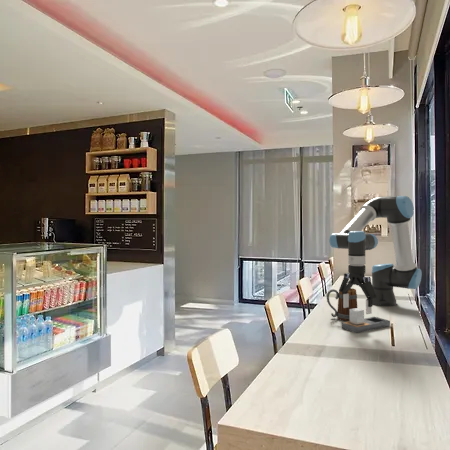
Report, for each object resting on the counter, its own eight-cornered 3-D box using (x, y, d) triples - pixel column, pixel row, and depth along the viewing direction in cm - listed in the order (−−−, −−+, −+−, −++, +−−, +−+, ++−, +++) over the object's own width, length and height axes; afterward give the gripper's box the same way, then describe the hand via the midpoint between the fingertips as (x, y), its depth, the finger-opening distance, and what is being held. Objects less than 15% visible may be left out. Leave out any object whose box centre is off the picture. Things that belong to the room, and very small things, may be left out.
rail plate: (374, 321, 197) (374, 316, 197) (390, 326, 189) (390, 320, 189) (341, 328, 187) (341, 322, 187) (356, 333, 179) (356, 327, 179)
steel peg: (356, 327, 188) (356, 308, 188) (364, 329, 184) (364, 310, 184) (349, 328, 186) (349, 309, 186) (357, 331, 182) (357, 311, 182)
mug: (355, 316, 208) (355, 287, 207) (360, 321, 197) (360, 291, 197) (325, 315, 209) (325, 287, 209) (328, 321, 199) (328, 291, 198)
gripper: (331, 262, 193) (331, 306, 194) (372, 268, 171) (373, 317, 172) (342, 261, 197) (343, 304, 198) (384, 267, 175) (385, 315, 176)
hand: (357, 310), depth 185 cm, fingers open, 13 cm apart
